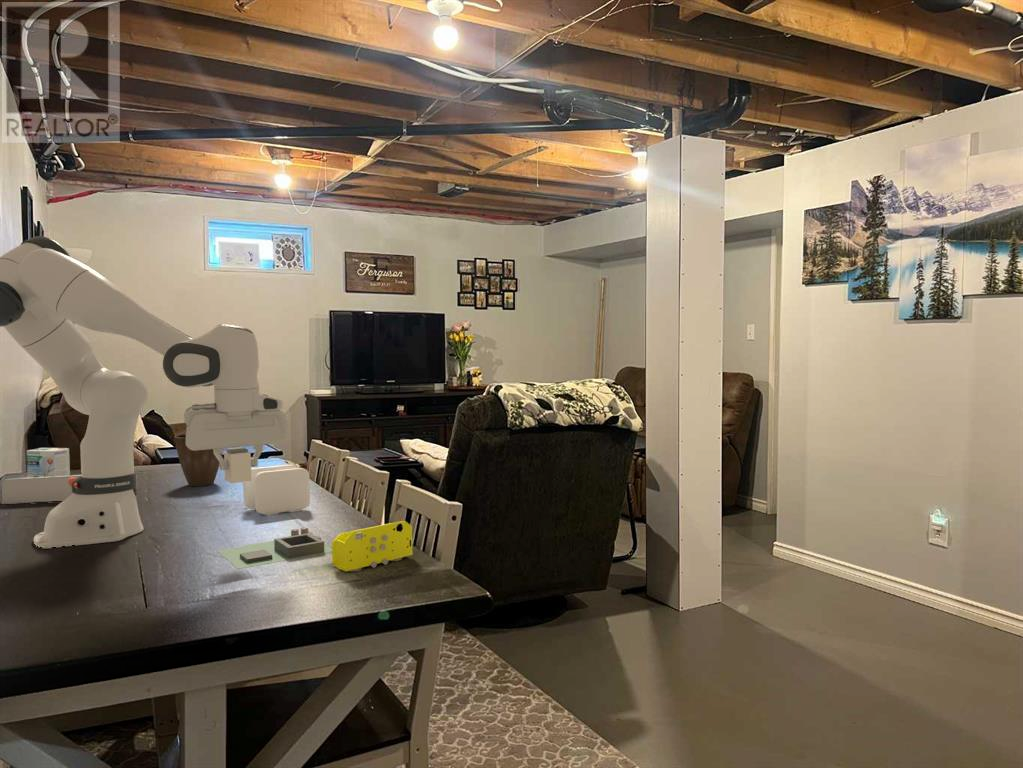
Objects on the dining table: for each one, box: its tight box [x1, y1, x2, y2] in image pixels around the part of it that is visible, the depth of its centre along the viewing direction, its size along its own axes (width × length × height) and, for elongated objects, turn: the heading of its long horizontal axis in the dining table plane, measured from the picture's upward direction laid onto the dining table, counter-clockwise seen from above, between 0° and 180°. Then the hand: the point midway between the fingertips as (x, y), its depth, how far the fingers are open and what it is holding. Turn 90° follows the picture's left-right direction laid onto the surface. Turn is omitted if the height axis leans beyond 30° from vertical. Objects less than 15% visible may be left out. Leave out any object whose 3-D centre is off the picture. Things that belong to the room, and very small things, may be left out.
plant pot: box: [174, 433, 223, 487], centre depth 236 cm, size 15×15×16 cm
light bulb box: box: [26, 447, 71, 477], centre depth 243 cm, size 11×7×11 cm, turn 81°
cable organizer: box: [242, 464, 311, 516], centre depth 199 cm, size 15×11×12 cm
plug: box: [223, 446, 252, 484], centre depth 154 cm, size 4×5×7 cm
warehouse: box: [0, 474, 81, 504], centre depth 218 cm, size 30×14×8 cm, turn 106°
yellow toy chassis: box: [331, 520, 413, 572], centre depth 150 cm, size 16×6×8 cm, turn 134°
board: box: [215, 527, 332, 570], centre depth 155 cm, size 20×16×4 cm
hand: (238, 467), depth 154 cm, fingers closed on plug, 4 cm apart
